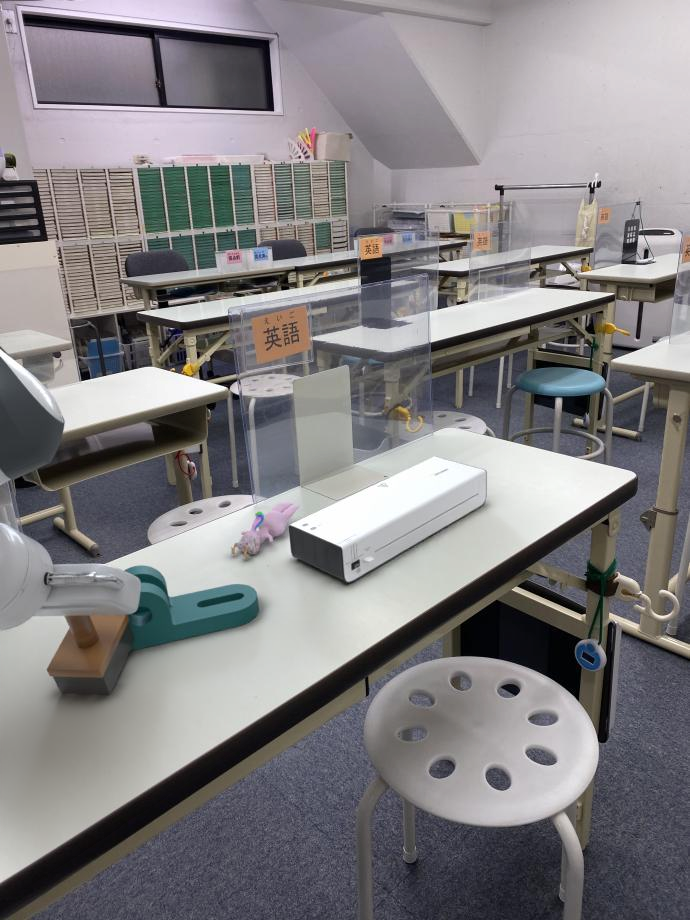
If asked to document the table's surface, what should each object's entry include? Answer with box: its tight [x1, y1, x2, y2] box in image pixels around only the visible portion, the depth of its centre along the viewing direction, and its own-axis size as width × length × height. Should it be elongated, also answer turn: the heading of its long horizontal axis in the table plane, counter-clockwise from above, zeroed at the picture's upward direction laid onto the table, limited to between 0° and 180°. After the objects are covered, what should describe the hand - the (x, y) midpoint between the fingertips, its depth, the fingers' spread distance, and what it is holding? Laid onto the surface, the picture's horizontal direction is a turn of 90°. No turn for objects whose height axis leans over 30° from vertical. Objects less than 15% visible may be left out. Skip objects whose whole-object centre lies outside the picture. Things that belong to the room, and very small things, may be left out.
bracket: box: [123, 564, 260, 652], centre depth 88 cm, size 18×7×8 cm, turn 107°
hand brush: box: [46, 615, 135, 695], centre depth 77 cm, size 8×6×14 cm
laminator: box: [287, 455, 488, 584], centre depth 108 cm, size 34×12×6 cm, turn 135°
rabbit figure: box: [230, 502, 301, 562], centre depth 108 cm, size 6×6×15 cm
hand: (68, 608), depth 74 cm, fingers open, 8 cm apart
